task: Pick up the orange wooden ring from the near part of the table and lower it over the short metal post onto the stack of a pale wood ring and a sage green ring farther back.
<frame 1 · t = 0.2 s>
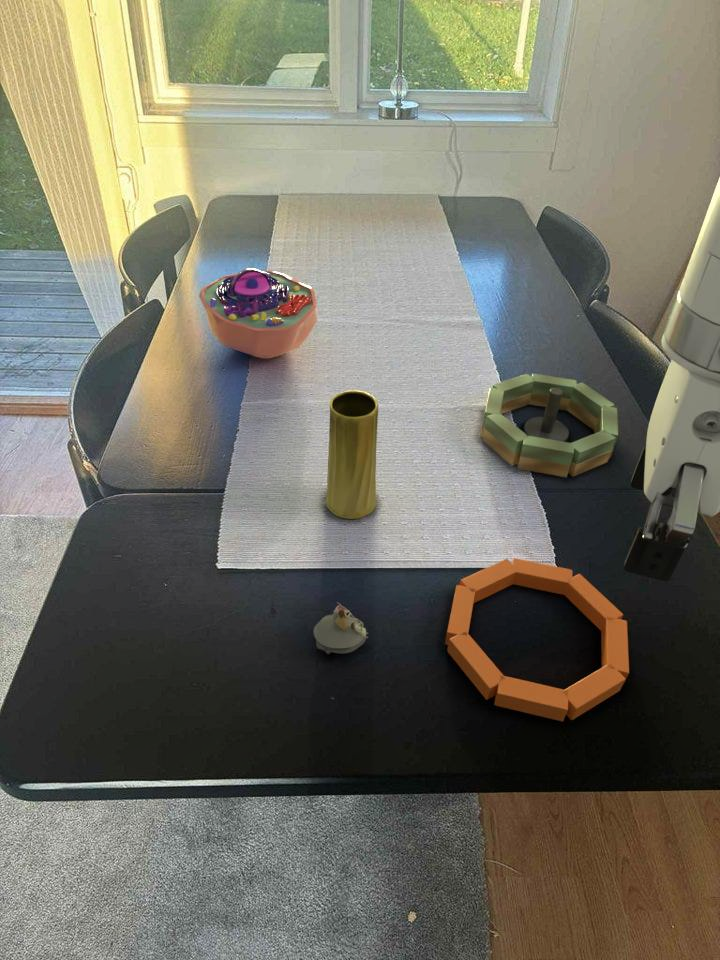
hand: (647, 529, 54), 19 cm above the table, tool pointing down, fingers open, 9 cm apart
orange ring: (534, 638, 69), on the table
cell model: (263, 346, 110), on the table
ring stack: (545, 434, 95), on the table
vase: (350, 503, 84), on the table
figurine: (340, 644, 69), on the table
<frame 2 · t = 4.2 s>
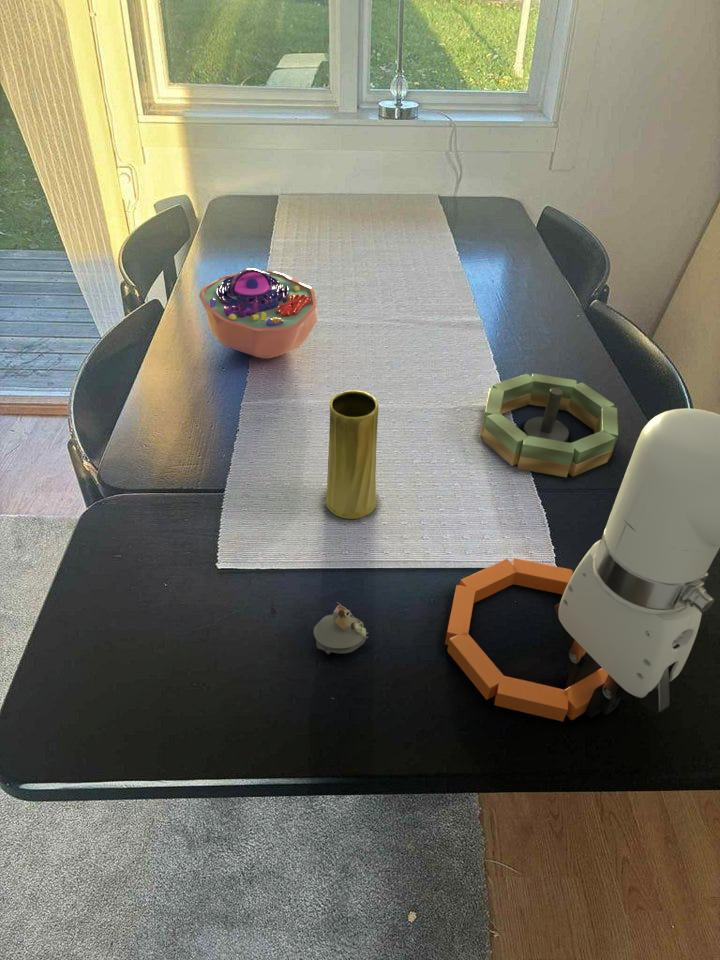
hand: (588, 696, 65), 0 cm above the table, tool pointing down, fingers closed on orange ring, 2 cm apart
orange ring: (534, 638, 69), on the table, touching gripper
everything else where it was.
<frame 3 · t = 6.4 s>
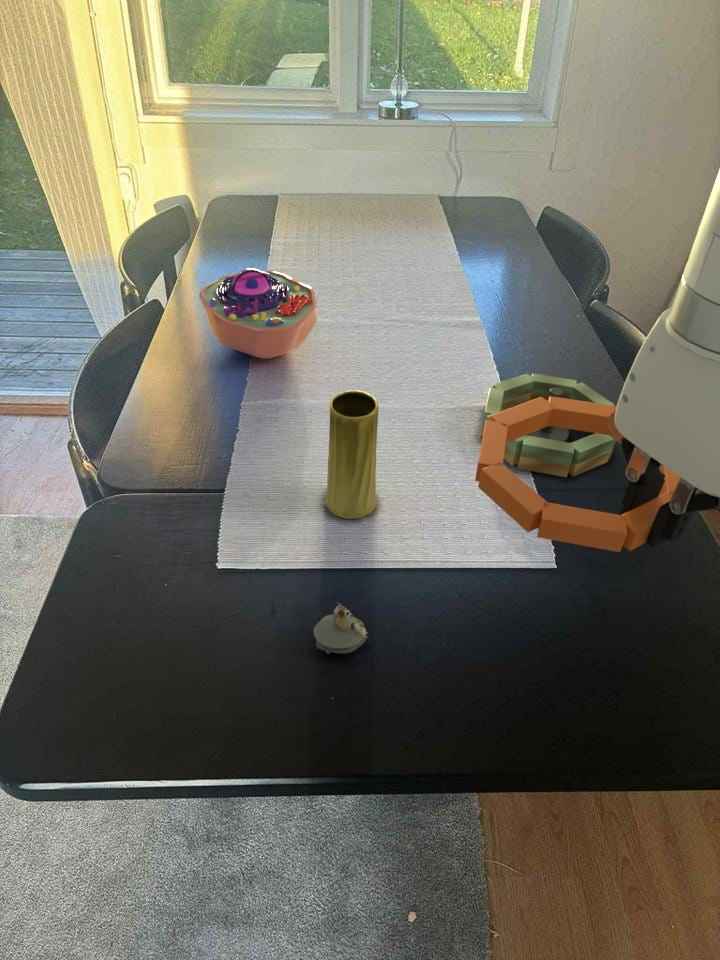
hand: (648, 527, 55), 19 cm above the table, tool pointing down, fingers closed on orange ring
orange ring: (578, 475, 60), point 19 cm above the table, touching gripper
everything else where it was.
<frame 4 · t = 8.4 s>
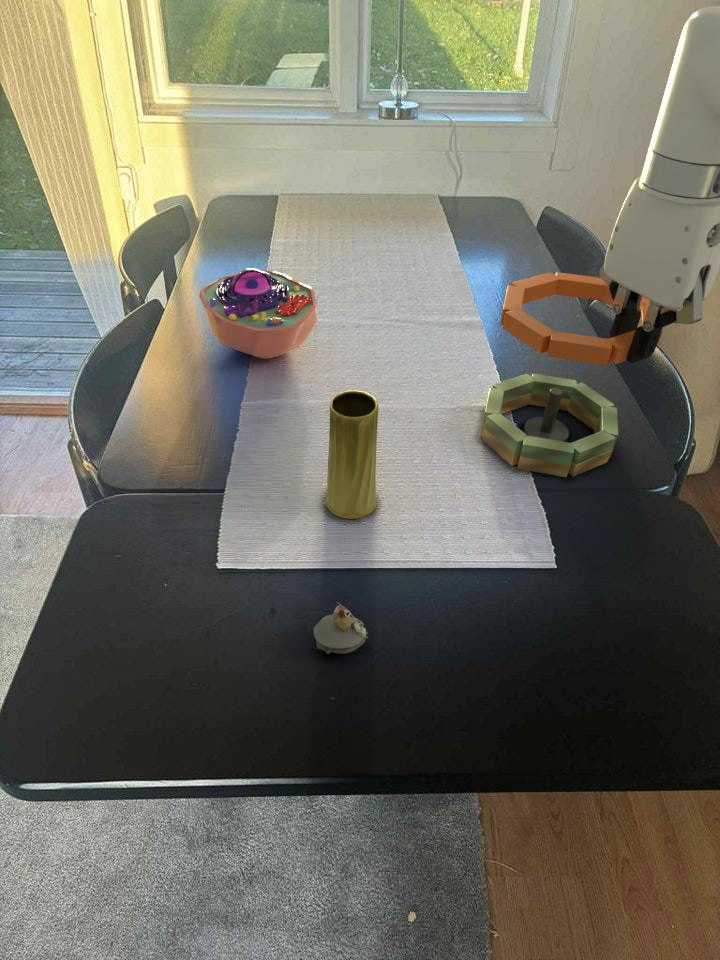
hand: (628, 351, 75), 19 cm above the table, tool pointing down, fingers closed on orange ring
orange ring: (577, 323, 79), point 19 cm above the table, touching gripper
everything else where it was.
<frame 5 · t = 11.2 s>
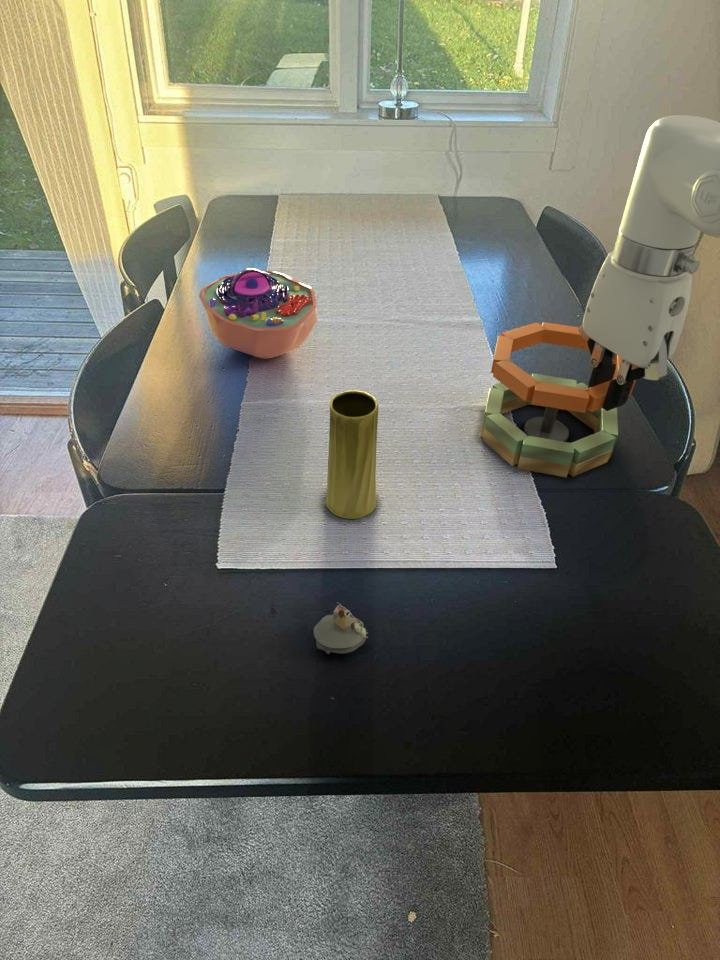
hand: (605, 399, 84), 10 cm above the table, tool pointing down, fingers closed on orange ring
orange ring: (560, 371, 88), point 10 cm above the table, touching gripper
everything else where it was.
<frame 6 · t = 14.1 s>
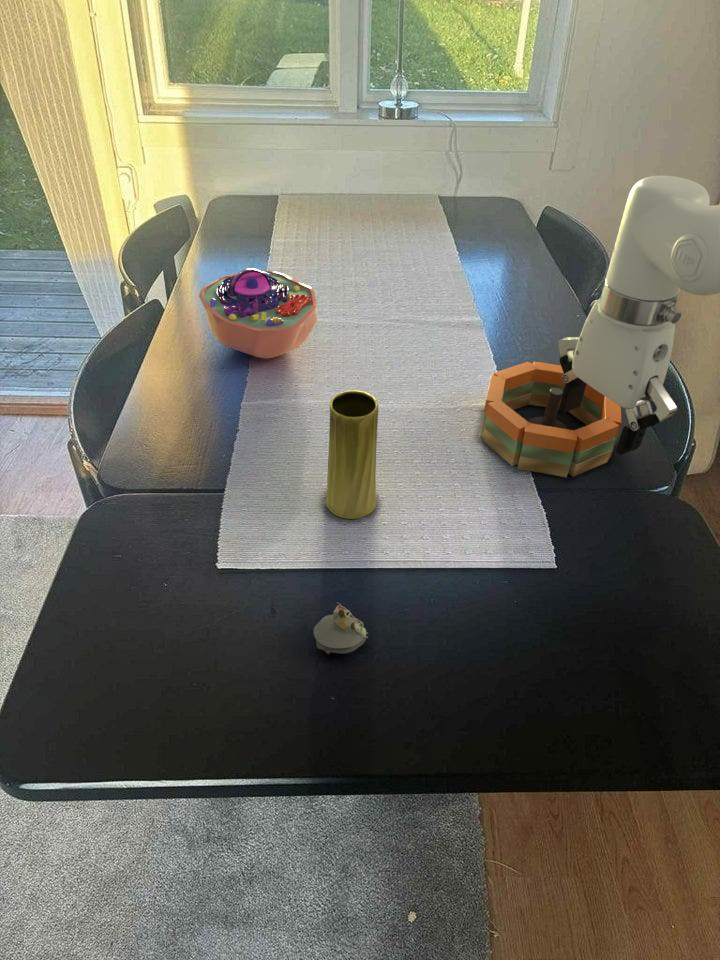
hand: (596, 429, 86), 6 cm above the table, tool pointing down, fingers open, 9 cm apart
orange ring: (550, 410, 92), point 4 cm above the table, touching ring stack
everything else where it was.
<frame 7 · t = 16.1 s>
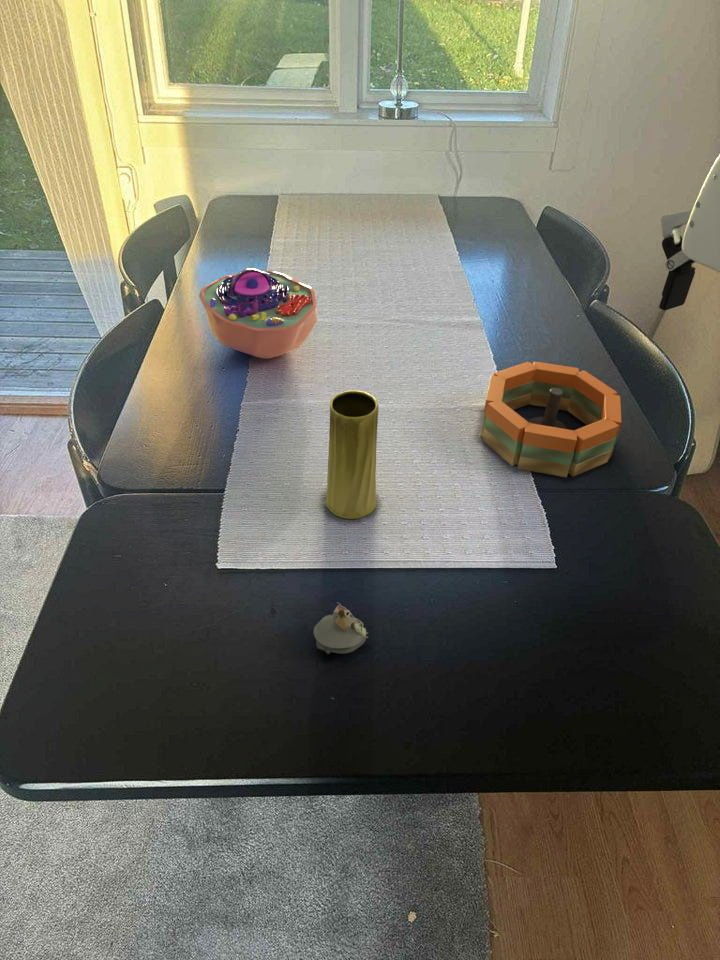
hand: (710, 326, 70), 24 cm above the table, tool pointing down, fingers open, 9 cm apart
nothing on the table moved.
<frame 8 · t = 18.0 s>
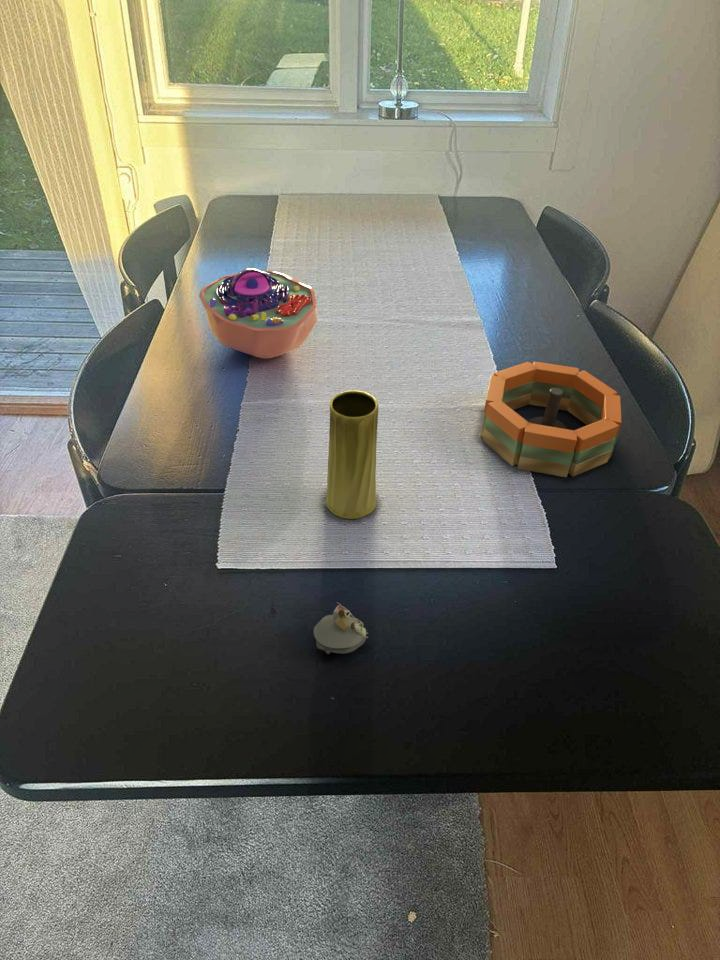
nothing on the table moved.
at the end: orange ring 0.2 cm off-centre on the ring stack, point 4.0 cm above the ring stack's base; orange ring tilted 0°; the gripper is holding nothing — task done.
